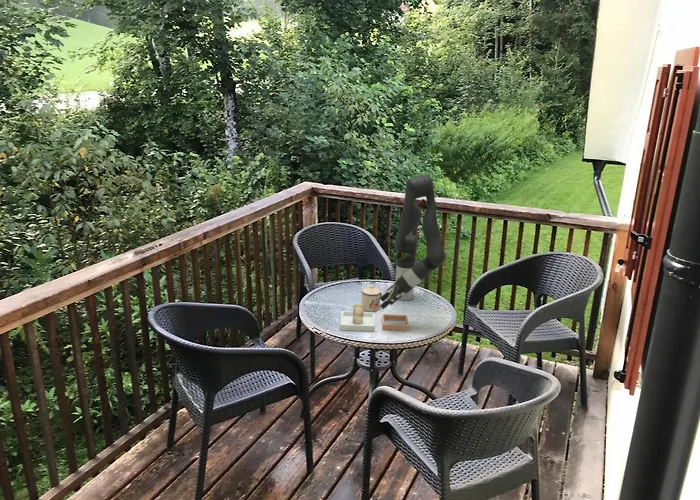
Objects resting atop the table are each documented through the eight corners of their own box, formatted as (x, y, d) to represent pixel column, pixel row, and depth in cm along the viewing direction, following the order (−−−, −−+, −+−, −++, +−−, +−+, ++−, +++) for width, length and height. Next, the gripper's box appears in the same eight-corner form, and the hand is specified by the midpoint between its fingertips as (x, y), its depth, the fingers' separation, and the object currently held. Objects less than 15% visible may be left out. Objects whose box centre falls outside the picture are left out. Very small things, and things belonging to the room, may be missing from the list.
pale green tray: (341, 316, 262) (341, 311, 261) (373, 318, 261) (374, 312, 260) (340, 330, 247) (340, 324, 246) (374, 332, 247) (374, 326, 246)
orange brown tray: (381, 319, 261) (382, 314, 260) (406, 320, 260) (407, 315, 260) (382, 329, 249) (382, 324, 249) (408, 331, 249) (408, 325, 249)
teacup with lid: (370, 313, 266) (371, 290, 263) (357, 307, 272) (358, 285, 269) (387, 307, 274) (389, 285, 271) (374, 301, 280) (375, 279, 277)
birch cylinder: (352, 320, 256) (353, 303, 254) (362, 320, 256) (363, 304, 254) (352, 324, 252) (353, 307, 250) (362, 324, 252) (363, 308, 250)
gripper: (402, 269, 253) (375, 291, 257) (404, 280, 240) (376, 303, 243) (413, 281, 255) (386, 303, 259) (415, 292, 241) (387, 315, 245)
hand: (381, 303), depth 251 cm, fingers open, 8 cm apart
